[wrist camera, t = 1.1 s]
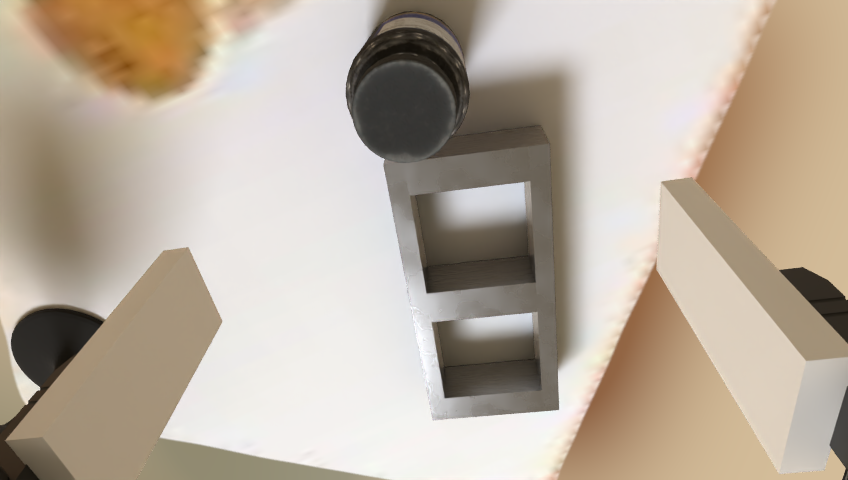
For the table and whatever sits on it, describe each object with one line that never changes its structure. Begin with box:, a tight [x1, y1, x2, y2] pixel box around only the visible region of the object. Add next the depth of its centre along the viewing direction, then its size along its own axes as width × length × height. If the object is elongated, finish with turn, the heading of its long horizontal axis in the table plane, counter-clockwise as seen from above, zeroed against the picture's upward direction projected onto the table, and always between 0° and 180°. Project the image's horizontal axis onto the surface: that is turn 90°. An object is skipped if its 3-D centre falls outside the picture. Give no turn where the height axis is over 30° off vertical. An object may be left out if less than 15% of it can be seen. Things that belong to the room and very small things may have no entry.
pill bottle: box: [346, 11, 470, 163], centre depth 29 cm, size 6×6×11 cm
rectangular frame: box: [384, 125, 559, 420], centre depth 40 cm, size 22×10×4 cm, turn 8°
